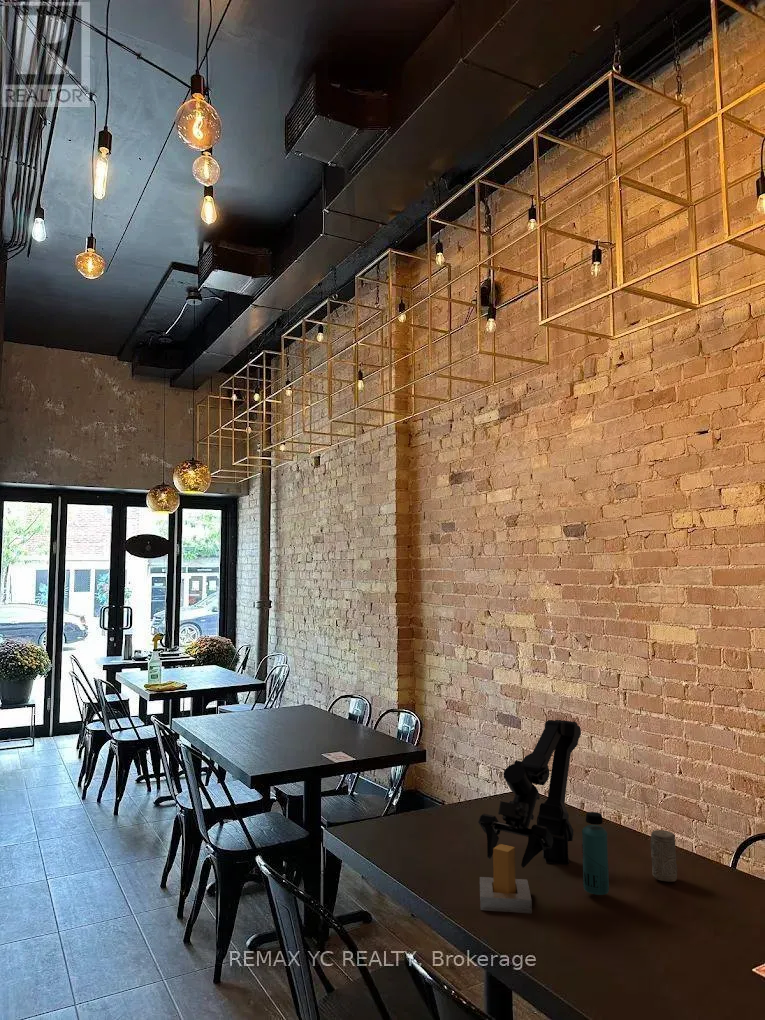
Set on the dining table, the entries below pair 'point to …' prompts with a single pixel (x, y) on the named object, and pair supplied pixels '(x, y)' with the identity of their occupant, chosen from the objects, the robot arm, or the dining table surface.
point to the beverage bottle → (595, 856)
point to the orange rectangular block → (504, 869)
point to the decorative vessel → (663, 856)
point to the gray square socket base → (505, 897)
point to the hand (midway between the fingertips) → (505, 862)
